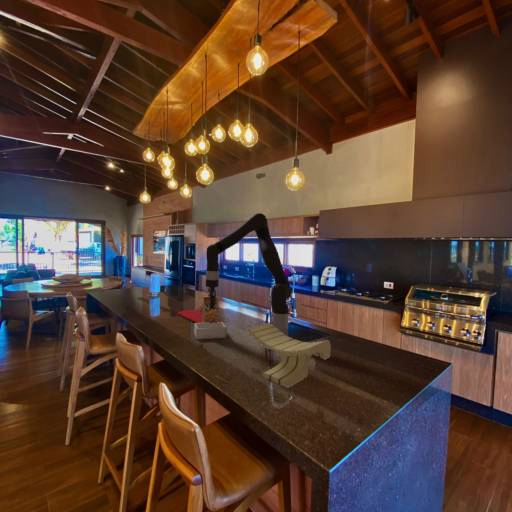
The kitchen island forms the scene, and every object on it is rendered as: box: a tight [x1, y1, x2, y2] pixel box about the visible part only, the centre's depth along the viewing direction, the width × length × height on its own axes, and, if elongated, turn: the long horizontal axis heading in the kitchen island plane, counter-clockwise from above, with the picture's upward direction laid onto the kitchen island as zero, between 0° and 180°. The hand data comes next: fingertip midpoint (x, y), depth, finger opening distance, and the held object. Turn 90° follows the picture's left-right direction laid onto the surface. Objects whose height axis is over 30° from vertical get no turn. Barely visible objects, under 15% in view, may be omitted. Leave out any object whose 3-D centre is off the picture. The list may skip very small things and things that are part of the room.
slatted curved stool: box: [248, 323, 332, 389], centre depth 114 cm, size 30×16×18 cm, turn 47°
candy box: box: [202, 295, 220, 324], centre depth 161 cm, size 9×4×15 cm, turn 92°
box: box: [193, 321, 228, 341], centre depth 161 cm, size 12×17×6 cm
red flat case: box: [176, 309, 225, 324], centre depth 196 cm, size 16×41×4 cm, turn 40°
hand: (211, 307), depth 161 cm, fingers closed on candy box, 5 cm apart
